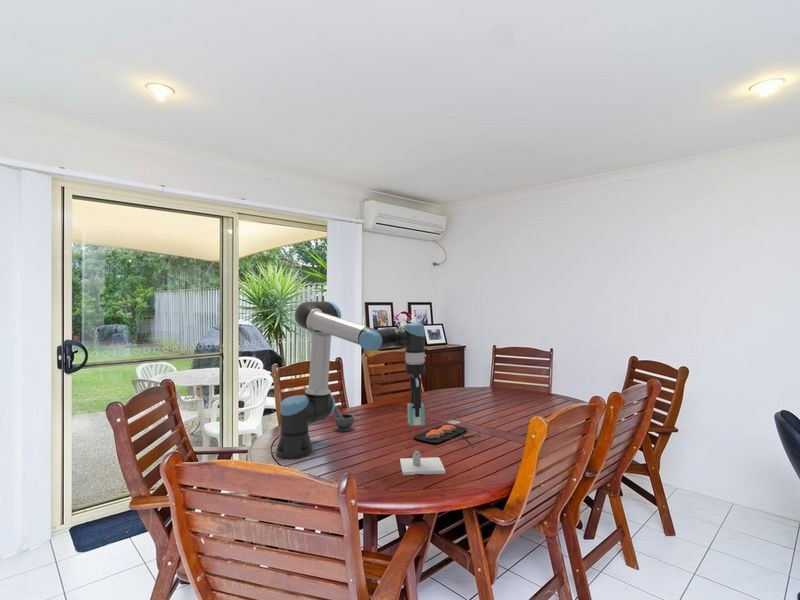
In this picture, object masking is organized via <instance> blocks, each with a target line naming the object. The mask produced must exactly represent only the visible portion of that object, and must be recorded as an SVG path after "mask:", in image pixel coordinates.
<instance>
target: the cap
mask: <svg viewBox="0 0 800 600" xmlns="http://www.w3.org/2000/svg"><path fill="white" fill-rule="evenodd" d="M412 407H414V404H413V403H407V423H408V426H410V427H411V426H414V425H413V408H412ZM420 410H421V425H420V426H425V424H426V417H425V416H426V414H425V413H426V412H425V411H426V409H425V405H424V403H423V402H421V408H420Z"/></svg>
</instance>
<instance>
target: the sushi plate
mask: <svg viewBox="0 0 800 600" xmlns="http://www.w3.org/2000/svg"><path fill="white" fill-rule="evenodd" d="M467 431H468V428H467V427H464V426H460V425H455V424H454V425H453V424H448V423H446V424H445V423H444V424H441V425H438V426H435V427H432V428H430V429H428V430H425V431H421V432H420V433H417V434H415V435H413V437H412V438H413V439H415V440H419V441H421V442H427V443H431V444H439V443H442V442H444V441H447V440H455V439H457V440H458V439H464V440H466V442H467V443H468V444H469V445H470V446H471V447H472V448H473V449H475V446H474V445H473V444H472V443H471V441H470V440H469V439H468V438H474V436H475V437H480V435H481V434H477V435H469V436H467V435H466V436H465V435H464V433H465V432H467ZM460 434H461V435H462V436H459V437H457V436H458V435H460ZM455 436H456V437H455Z"/></svg>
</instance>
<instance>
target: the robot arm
mask: <svg viewBox="0 0 800 600" xmlns="http://www.w3.org/2000/svg"><path fill="white" fill-rule="evenodd" d="M341 313H342V312H341V311H340V308H339V306H338V305H337V304H336V303H334V302H332V301H326V300H324V301H323V300H322V301H320V300H319V301H305V302H302V303H300V304H299V305H298V306H297V307H296V309H295V313H294V319H295V322H296V324H297V325H298V326H299V327H301V328H303V329H305V330H307V331H308V332H309V333H310V334H311V341H310V342H311V343H310V344H311V345H310V346H311V347H310V359H309V360H310V362H309V378H308V387H307V388H306V389H305V390H304V394H300V395H299V394H298V395H292V396H288V397H286V398H284V399H283V400H282V401H281V403H280V409H279V413H280V414H279V415H280V416H279V417H280V421H279V422H280V423H279V424H280V435H279V439H278V442H277V445H276V451H275V452H276V456H277V457H278V458H282V459H286V460H289V459H294V460H295V459H301V458H305V457H307V456H310V455H312V453H313V451H314V450H313V443H312V440H311V438H310V435H309V425H311V424H313V423H314V424H315V423H317V422H320V421H324V420H326V419H328V418H330V417H331V416H332V415H333V414H334V413H335V412H334V409H335V406H336V399H334V395H332V391H331V389H329V378H330V377H329V375H330V361H331V357H330V356H331V343H332V336H333V337H336V338H338V339H340V340H341V339H342V340H345V341H347V342H350V343H353V344H356V345H359V346H360V348H361V349H363V350H364V351H366V352H367V351H369V352H370V351H372V352H375V351H377V350H383V349H391V348H405V352H404V355H405V358H404V359H405V361H404V362H405V373H406V374H407V375H411V376H410V378H409V381H410V404H414V407H412V408H413V426H422V425H421V410H420V408H421V403H422V387H421V386H422V385H421V384H422V378H421V377H420V375H424V374H425V373H426V364H425V362H426V359H425V358H426V357H427V354H425V352H426V351H425V348H426V347H425V345H426V344H425V343H426V341H425V339H426V338H425V336H426V334H425V325H424V324H422V323H419V322H418V323H415V322H414V323H411V322H410V323H406V324H405V326H404V328H402V327H401V328H398V327H383V328H381V329H380V328H379V329H375V328H373V327H368V326H366V325H363V324H360V323H357V322H353V321H351V320H348V319H344V318H342V314H341Z"/></svg>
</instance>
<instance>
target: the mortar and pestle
mask: <svg viewBox="0 0 800 600" xmlns="http://www.w3.org/2000/svg"><path fill="white" fill-rule="evenodd" d="M333 413H334V414H335V416H334V422H335V426H337V428H338V430H339V431H338V430H337V431H338V432H340V431H348V432H350V431H351V427H352V426H353V424H354V420H355V416H354V414H350V413H341V411H340V410H339V407H338V405H335V409H334V412H333ZM349 430H350V431H349Z"/></svg>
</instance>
